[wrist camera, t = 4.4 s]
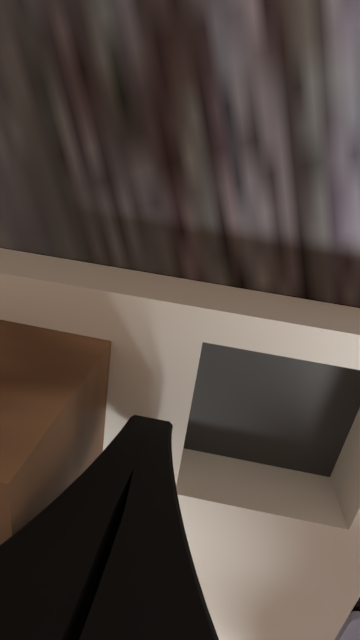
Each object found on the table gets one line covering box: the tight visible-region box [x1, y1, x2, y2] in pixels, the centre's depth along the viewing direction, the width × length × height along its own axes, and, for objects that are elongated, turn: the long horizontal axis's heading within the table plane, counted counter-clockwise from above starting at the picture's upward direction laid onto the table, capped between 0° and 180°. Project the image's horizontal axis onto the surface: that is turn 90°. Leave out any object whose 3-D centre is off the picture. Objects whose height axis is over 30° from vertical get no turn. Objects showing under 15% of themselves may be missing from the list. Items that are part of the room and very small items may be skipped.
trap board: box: [0, 248, 360, 640], centre depth 12 cm, size 22×16×4 cm
